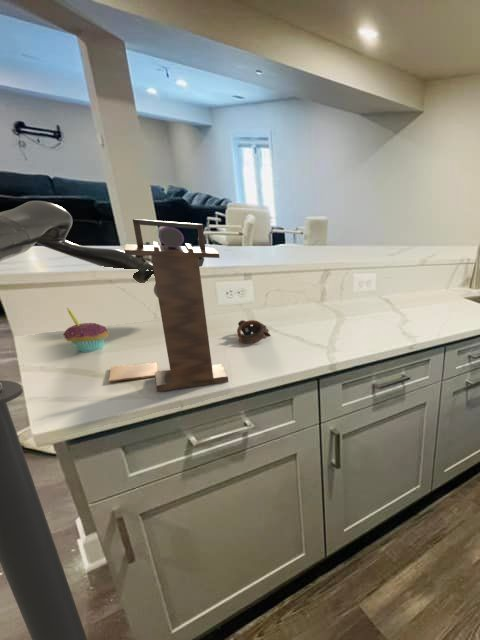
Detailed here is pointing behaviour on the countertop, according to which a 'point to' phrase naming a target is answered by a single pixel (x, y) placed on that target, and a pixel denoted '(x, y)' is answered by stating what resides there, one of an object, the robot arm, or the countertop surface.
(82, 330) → the cupcake
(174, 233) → the plum cup
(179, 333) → the stand
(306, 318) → the countertop surface
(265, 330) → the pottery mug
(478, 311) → the countertop surface
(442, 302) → the countertop surface
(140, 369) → the cork coaster
